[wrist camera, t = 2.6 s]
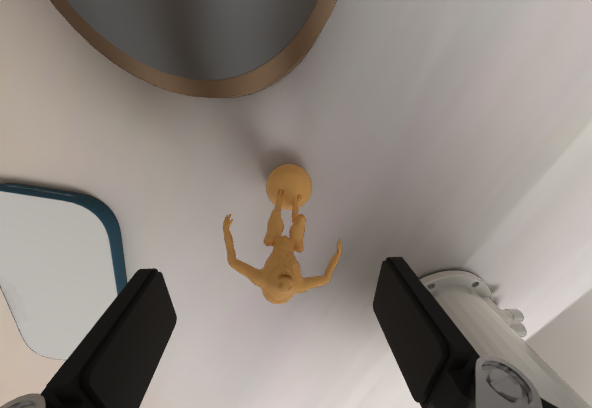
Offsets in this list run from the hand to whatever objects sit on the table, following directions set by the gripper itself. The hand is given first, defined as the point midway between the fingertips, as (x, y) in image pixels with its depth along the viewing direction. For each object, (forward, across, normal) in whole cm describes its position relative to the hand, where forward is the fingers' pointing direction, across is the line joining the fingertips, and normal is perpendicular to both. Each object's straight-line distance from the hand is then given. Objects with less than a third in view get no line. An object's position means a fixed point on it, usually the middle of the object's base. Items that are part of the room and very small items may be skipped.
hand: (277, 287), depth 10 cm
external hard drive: (+14, +23, +12) cm, 29 cm away
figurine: (+13, -1, +1) cm, 13 cm away
